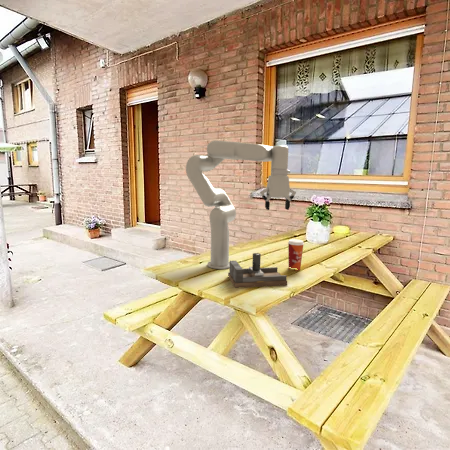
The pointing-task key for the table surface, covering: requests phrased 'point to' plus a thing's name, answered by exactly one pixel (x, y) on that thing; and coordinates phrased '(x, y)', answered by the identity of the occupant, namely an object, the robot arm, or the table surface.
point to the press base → (244, 279)
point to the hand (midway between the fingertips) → (277, 209)
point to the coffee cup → (295, 253)
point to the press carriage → (256, 266)
